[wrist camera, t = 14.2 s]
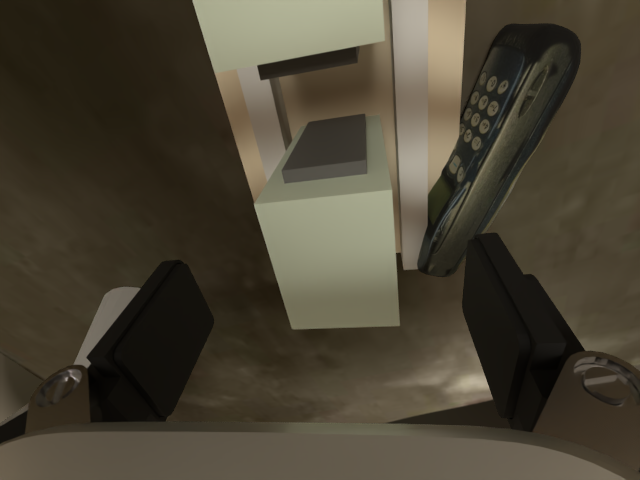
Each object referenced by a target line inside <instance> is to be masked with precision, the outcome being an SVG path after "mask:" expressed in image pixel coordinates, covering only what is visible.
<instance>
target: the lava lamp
mask: <svg viewBox="0 0 640 480" xmlns="http://www.w3.org/2000/svg"><path fill="white" fill-rule="evenodd" d="M140 289H141V288H135V287H120V288H115V289H112V290H111V291H109V292H108V293H106V294H105V296H104V298H103V300H102V302H101V304H100V306H99V309H98V311H97V313H96V315H95V318H94V320H93V322H92V324H91V327H90V329H89V331H88V333H87V336H86V338H85V340H84V342H83V345H82V347H81V349H80V351H79V354H78V356H77V358H76V361H75V363H74V365H76V364H77V365H83V366H85V367H86V368H88V367H89V365H90V364H91V363H90V362H89V360H88V359H87V358H86V357H87V355H88V354H89V353H90V352H91V350H92V349H93V348H94V347H95V345H96V344H97V343H98V342H99V340H100V339H101V338H102V337H103V335H104V334H105V333H106V332H107V330H108V329H109V328H110V326H111V325H112V324H113V323H114V321H115V320H116V319H117V318H118V316H119V315H120V314H121V313H122V311H123V310H124V309H125V308H126V306H127V305H128V304H129V303H130V301H131V300H132V299H133V298H134V296H135V295H136V294H137V293H138V291H139V290H140ZM28 406H29V404H27V405H26V406H24V407H23V408H21V409H20V410H18V411H17V412H16V413H14V414H13V415H11V416H10V417H8V418H7V419H5V420H4V421H2V422H1V423H0V426H2V425H3V424H5V423H7V422H8V421H10V420H12V419H13V418H15V417H17V416H18V415H20V414H22V413H23V412H25V411H27V410H28Z"/></svg>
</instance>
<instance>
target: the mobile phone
mask: <svg viewBox="0 0 640 480" xmlns="http://www.w3.org/2000/svg"><path fill="white" fill-rule="evenodd" d="M580 57H581V44H580V40H579V39H578V37H577V35H576V34H575V33H573V32H572V31H570V30H569V29H567V28H564V27H562V26H559V25H555V24H509V25H506V26H505V27H504V28H502V30H501V31H500V32H499V33H498V35H497V36H496V38H495V40H494V42H493V44H492V47H491V49H490V52H489V54H488V57H487V60H486V62H485V65H484V67H483V69H482V72H481V74H480V76H479V79H478V81H477V83H476V86H475V88H474V90H473V92H472V95H471V97H470V99H469V102H468V104H467V106H466V109H465V111H464V113H463V115H462V118H461V120H460V126H459V138H458V140H457V142H456V144H455V147H454V149H453V151H452V153H451V155H450V157H449V159H448V161H447V163H446V165H445V166H444V168H443V170H442V172H441V176H440V177H439V179H438V180H437V182H436V183H435V184H434V186H433V187H432V189H431V190H430V192H429V194H428V226H427V229H426V232H425V235H424V238H423V242H422V245H421V249H420V253H419V257H418V261H417V267H418V269H419V270H420V272H422V273H425V274H428V275H433V276H438V277H447V276H450V275H452V274H453V273H454V272H455V271H456V270H457V269H458V268H459V266H460V265H461V263H462V262H463V260H464V259H465V257H466V254H467V243H468V240H471V239H474V236H475V235H476V234H484V233H485V232H486V231H487V230H488V229H489V227H490V226H491V224H492V223H493V221H494V219H495V217H496V216H497V214H498V212H499V211H500V209H501V207H502V206H503V204H504V202H505V201H506V199H507V198H508V196H509V195H510V193H511V191H512V189H513V187H514V185H515V183H516V181H517V179H518V177H519V175H520V174H521V172H522V170H523V168H524V167H525V165H526V163H527V162H528V160H529V159H530V158H531V156H532V155H533V153H534V152H535V150H536V149H537V147H538V146H539V144H540V142H541V140H542V139H543V137H544V135H545V133H546V131H547V130H548V128H549V126H550V124H551V122H552V120H553V119H554V117H555V115H556V113H557V111H558V110H559V108H560V106H561V104H562V103H563V101H564V99H565V97H566V95H567V93H568V91H569V89H570V87H571V85H572V83H573V81H574V79H575V76H576V74H577V71H578V68H579V65H580Z"/></svg>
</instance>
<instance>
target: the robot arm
mask: <svg viewBox="0 0 640 480" xmlns="http://www.w3.org/2000/svg"><path fill="white" fill-rule="evenodd" d="M462 308H463V313H464V317H465V320H466V322H467V325H468V328H469V331H470V334H471V337H472V339H473V342H474V345H475V348H476V351H477V354H478V357H479V359H480V362H481V365H482V368H483V371H484V374H485V377H486V379H487V382H488V385H489V388H490V391H491V394H492V397H493V399H494V402H495V405H496V408H497V411H498V413H499V415H500V417H501V418H507V419H508V422H509V424H510V427H511V429H505V428H492V427H478V426H455V425H423V424H420V425H419V424H369V423H289V422H165V421H166V419H167V417H168V416H169V415H171V414H172V412H173V411H174V409H175V407H176V404H177V402H178V400H179V398H180V396H181V394H182V392H183V389H184V387H185V385H186V383H187V381H188V379H189V377H190V374H191V372H192V370H193V368H194V366H195V364H196V362H197V359H198V357H199V355H200V353H201V351H202V349H203V347H204V344H205V342H206V340H207V338H208V336H209V334H210V332H211V329H212V327H213V324H214V318H213V315H212V313H211V311H210V309H209V307H208V305H207V303H206V301H205V299H204V297H203V295H202V293H201V291H200V289H199V287H198V285H197V283H196V281H195V279H194V277H193V275H192V273H191V271H190V269H189V267H188V265H187V264H184V263H183V262H182V261H181V260H172V261H164V262H162V263H161V264H160V265H159V266H158V267H157V269H156V270H155V271H154V272H153V274H152V275H151V276H150V277H149V279H148V280H147V281H146V283H145V284H144V285H143V286H142V288H141V289H140V290H139V291H138V293H137V294H136V295H135V296H134V298H133V299H132V300H131V301H130V303H129V304H128V305H127V306H126V308H125V309H124V310H123V311H122V313H121V314H120V315H119V316H118V318H117V319H116V320H115V321H114V323H113V324H112V325H111V326H110V328H109V329H108V330H107V332H106V333H105V334H104V335H103V337H102V338H101V339H100V340H99V342H98V343H97V344H96V345H95V347H94V348H93V349H92V350H91V352H90V353H89V354H88V355H87V357H86V358H87V359H88V360H89V362H90V363H91V364H90V365H89V367H88V368H86V367H85V366H83V365H77V364H76V365H71V366H67V367H65V368H63V369H60V370H59V371H57V372H55V373H54V374H52V375H51V376H49V377H48V378H47V379H46V380H44V381H43V382H42V383H41V384H40V385H39V387H38V388H37V389H36V390H35V391H34V393H33V395H32V396H31V398H30V401H29V406H28V410H27V411H25V412H23V413H22V414H20V415H18V416H17V417H15V418H13V419H12V420H10V421H8V422H7V423H5V424H3V425H2V426H0V480H640V371H639V370H638V369H636V368H635V367H634V366H632V365H631V364H629V363H628V362H626V361H624V360H622V359H620V358H618V357H615V356H612V355H609V354H606V353H603V352H596V351H585V350H584V348H583V347H582V345H581V344H580V342H579V341H578V339H577V338H576V336H575V335H574V333H573V332H572V330H571V329H570V327H569V326H568V324H567V323H566V321H565V320H564V318H563V317H562V315H561V314H560V312H559V311H558V309H557V308H556V307H555V305H554V304H553V302H552V301H551V299H550V298H549V296H548V295H547V293H546V292H545V290H544V289H543V287H542V286H541V284H540V283H539V281H538V280H537V279H536V278H535V276H533V275H531V274H526V275H523V273H522V271H521V270H520V268H519V267H518V265H517V264H516V262H515V260H514V259H513V257H512V256H511V254H510V253H509V251H508V249H507V248H506V246H505V245H504V243H503V241H502V240H501V238H500V237H499V235H498V234H497V233H485V234H476V235H475V236H474V239H471V240H468V243H467V254H466V266H465V277H464V289H463V301H462Z"/></svg>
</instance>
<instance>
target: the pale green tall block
mask: <svg viewBox="0 0 640 480" xmlns="http://www.w3.org/2000/svg"><path fill="white" fill-rule="evenodd" d="M254 207H255V210H256V213H257V217H258V220H259V223H260V226H261V230H262V233H263V236H264V239H265V243H266V246H267V249H268V253H269V256H270V259H271V262H272V266H273V269H274V272H275V275H276V279H277V282H278V285H279V288H280V292H281V295H282V298H283V301H284V305H285V308H286V311H287V315H288V318H289V321H290V324H291V328H292V329H321V328H353V327H384V326H400V319H399V302H398V284H397V267H396V249H395V232H394V214H393V197H392V186H391V180H390V174H389V168H388V162H387V156H386V151H385V145H384V139H383V133H382V127H381V121H380V115H373V116H366V117H365V113H364V114H358V115H351V116H344V117H338V118H331V119H324V120H318V121H311V122H308V124H307V125H305V126H301V127H300V129H299V131H298V132H297V134H296V136H295V137H294V139H293V141H292V142H291V144H290V146H289V147H288V149H287V150H286V152H285V154H284V155H283V157H282V159H281V160H280V162H279V164H278V165H277V167H276V169H275V170H274V172H273V174H272V175H271V177H270V179H269V180H268V182H267V183H266V185H265V187H264V188H263V190H262V192H261V193H260V195H259V197H258V198H257V200H256V202H255V203H254Z"/></svg>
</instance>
